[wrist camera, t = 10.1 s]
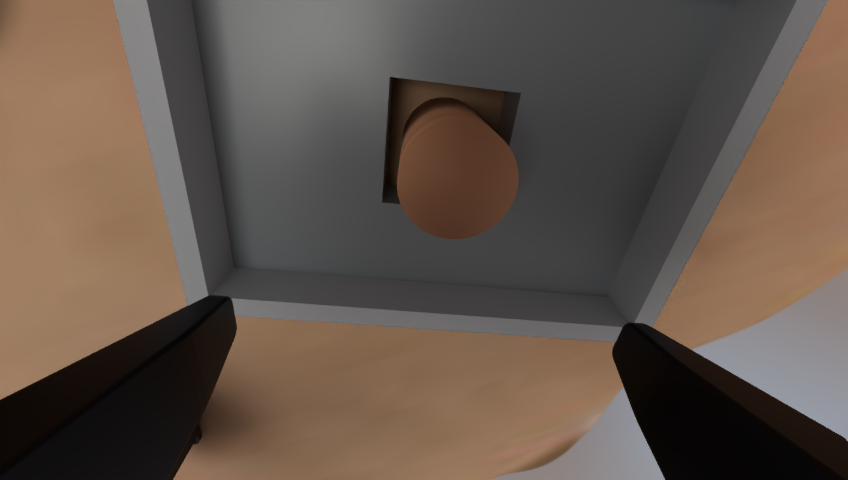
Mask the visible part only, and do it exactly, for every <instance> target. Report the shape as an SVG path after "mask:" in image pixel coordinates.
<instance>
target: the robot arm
mask: <svg viewBox="0 0 848 480" xmlns="http://www.w3.org/2000/svg"><path fill="white" fill-rule="evenodd" d="M236 330H237V325H236V318H235V313H234V307H233V302H232V299H231V298H230V297H229V296H221V295H209V296H206V297H204V298H202V299H200V300H198V301H196V302H194V303H192V304H190V305H188V306H186V307H184V308H182V309H180V310H178V311H176V312H174V313H172V314H170V315H168V316H166V317H164V318H162V319H160V320H159V321H157V322H155V323H153V324H151V325H149V326H147V327H145V328H143V329H141V330H139V331H137V332H135V333H133V334H131V335H129V336H127V337H125V338H123V339H121V340H119V341H117V342H115V343H113V344H111V345H109V346H107V347H105V348H103V349H101V350H99V351H97V352H95V353H93V354H91V355H89V356H87V357H85V358H83V359H81V360H79V361H77V362H75V363H73V364H71V365H69V366H67V367H65V368H63V369H61V370H59V371H57V372H55V373H53V374H51V375H49V376H47V377H45V378H43V379H41V380H39V381H37V382H35V383H33V384H31V385H29V386H27V387H25V388H23V389H21V390H19V391H17V392H15V393H13V394H11V395H9V396H7V397H5V398H3V399H1V400H0V480H173V478H174V477H175V475H176V473H177V471H178V470H179V468H180V466H181V464H182V463H183V461H184V459H185V457H186V456H187V454H188V452H189V450H190V448H191V447H192V445H193V444H198V443H199V441H200V440H201V438H202V434H201V431H200V427H199V424H198V421H199V419H200V418H201V416H202V414H203V412H204V410H205V408H206V406H207V404H208V402H209V399H210V397H211V395H212V393H213V390H214V388H215V385H216V383H217V380H218V378H219V375H220V373H221V370H222V368H223V365H224V363H225V360H226V358H227V355H228V353H229V351H230V348H231V346H232V343H233V341H234V338H235V335H236ZM612 355H613V359H614V362H615V365H616V367H617V370H618V373H619V375H620V378H621V381H622V383H623V386H624V389H625V391H626V394H627V396H628V399H629V402H630V404H631V407H632V410H633V412H634V415H635V417H636V420H637V422H638V424H639V426H640V428H641V430H642V432H643V435H644V437H645V439H646V441H647V443H648V445H649V447H650V449H651V451H652V453H653V455H654V457H655V459H656V461H657V463H658V465H659V468H660V470H661V472H662V474H663V476H664V478H665V480H848V441H847V440H846V439H845V438H844V437H842V436H840V435H839V434H837V433H835V432H833V431H832V430H830V429H828V428H826V427H825V426H823V425H821V424H819V423H818V422H816V421H814V420H812V419H810V418H809V417H807V416H805V415H804V414H802V413H800V412H798V411H797V410H795V409H793V408H791V407H790V406H788V405H786V404H784V403H783V402H781V401H779V400H778V399H776V398H774V397H772V396H771V395H769V394H767V393H765V392H764V391H762V390H760V389H758V388H757V387H755V386H753V385H751V384H750V383H748V382H746V381H744V380H743V379H741V378H739V377H738V376H736V375H734V374H732V373H731V372H729V371H727V370H725V369H724V368H722V367H720V366H718V365H717V364H715V363H713V362H711V361H710V360H708V359H706V358H704V357H703V356H701V355H699V354H697V353H695V352H694V351H692V350H690V349H689V348H687V347H685V346H683V345H682V344H680V343H678V342H676V341H675V340H673V339H671V338H670V337H668V336H666V335H664V334H663V333H661V332H659V331H657V330H656V329H654V328H652V327H650V326H649V325H647V324H644V323H632V322H629V323H626V324H625V325H624V326H623V327H622V330H621V332H620V334H619V336H618V338H617V340H616V342H615V344H614V347H613V351H612Z"/></svg>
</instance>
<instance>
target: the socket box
mask: <svg viewBox="0 0 848 480" xmlns="http://www.w3.org/2000/svg"><path fill="white" fill-rule="evenodd" d="M827 1H828V0H113V3H114V7H115V11H116V15H117V19H118V23H119V27H120V32H121V36H122V40H123V44H124V48H125V52H126V56H127V60H128V64H129V68H130V72H131V76H132V80H133V85H134V89H135V93H136V97H137V101H138V105H139V109H140V113H141V117H142V121H143V125H144V129H145V133H146V138H147V142H148V146H149V150H150V154H151V158H152V162H153V166H154V170H155V174H156V178H157V182H158V186H159V190H160V195H161V199H162V203H163V207H164V211H165V215H166V219H167V223H168V227H169V231H170V235H171V239H172V243H173V248H174V252H175V256H176V260H177V264H178V268H179V272H180V276H181V280H182V284H183V288H184V292H185V296H186V301H187V305H190V304H192V303H194V302H196V301H198V300H200V299H202V298H204V297H206V296H209V295H221V296H229V297H230V298H231V299H232V302H233V307H234V313H235V316H245V317H260V318H274V319H288V320H303V321H317V322H331V323H345V324H360V325H374V326H388V327H403V328H417V329H431V330H446V331H460V332H474V333H488V334H503V335H517V336H531V337H546V338H560V339H574V340H589V341H603V342H616V340H617V338H618V336H619V334H620V332H621V330H622V327H623V326H624V325H625V324H626V323H629V322H632V323H644V324H647V325H649V326H650V327H653V325H654V323H655V321H656V319H657V317H658V315H659V314H660V312H661V310H662V308H663V306H664V304H665V302H666V301H667V299H668V297H669V295H670V293H671V291H672V289H673V288H674V286H675V284H676V282H677V280H678V278H679V276H680V274H681V273H682V271H683V269H684V267H685V265H686V263H687V261H688V260H689V258H690V256H691V254H692V252H693V250H694V248H695V247H696V245H697V243H698V241H699V239H700V237H701V235H702V234H703V232H704V230H705V228H706V226H707V224H708V222H709V221H710V219H711V217H712V215H713V213H714V211H715V209H716V208H717V206H718V204H719V202H720V200H721V198H722V196H723V195H724V193H725V191H726V189H727V187H728V185H729V183H730V181H731V180H732V178H733V176H734V174H735V172H736V170H737V168H738V167H739V165H740V163H741V161H742V159H743V157H744V155H745V154H746V152H747V150H748V148H749V146H750V144H751V142H752V141H753V139H754V137H755V135H756V133H757V131H758V129H759V128H760V126H761V124H762V122H763V120H764V118H765V116H766V115H767V113H768V111H769V109H770V107H771V105H772V103H773V102H774V100H775V98H776V96H777V94H778V92H779V90H780V89H781V87H782V85H783V83H784V81H785V79H786V77H787V75H788V74H789V72H790V70H791V68H792V66H793V64H794V62H795V61H796V59H797V57H798V55H799V53H800V51H801V49H802V48H803V46H804V44H805V42H806V40H807V38H808V36H809V35H810V33H811V31H812V29H813V27H814V25H815V23H816V22H817V20H818V18H819V16H820V14H821V12H822V10H823V9H824V7H825V5H826V3H827ZM393 77H395V78H403V79H411V80H419V81H427V82H435V83H443V84H451V85H459V86H467V87H475V88H483V89H492V90H500V91H506V95H505V100H504V105H503V110H502V114H501V119H500V124H499V129H498V135H499V136H500V137H501V138H502V139H503V140H504V141H505V142H506V143H507V145H508V146H509V147H510V149H511V151H512V152H513V154H514V157H515V159H516V163H517V167H518V174H519V180H518V189H517V193H516V196H515V199H514V201H513V203H512V206H511V207H510V209H509V210H508V212H507V213H506V214H505V216H504V217H503V218H502V219H501V220H500V221H499V222H498V223H497V224H496V225H494V226H493V227H492V228H490V229H489V230H487V231H485V232H483V233H481V234H479V235H476V236H473V237H469V238H465V239H445V238H440V237H436V236H433V235H431V234H428V233H427V232H425V231H423V230H421V229H420V228H419V227H417V226H416V225H415V224H414V223H413V222H412V221H411V220H410V219H409V217H408V216H407V215H406V213H405V212H404V210H403V208H402V206H401V203H400V201H399V197H398V191H397V186H389V185H386V173H387V158H388V143H389V128H390V113H391V98H392V83H393Z"/></svg>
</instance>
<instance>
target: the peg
mask: <svg viewBox="0 0 848 480" xmlns="http://www.w3.org/2000/svg"><path fill="white" fill-rule="evenodd" d="M518 180H519V174H518V167H517V163H516V159H515V157H514V154H513V152H512V151H511V149H510V147H509V146H508V145H507V143H506V142H505V141H504V140H503V139H502V138H501V137H500V136H499V135H498V134H497V133H496V132H495V131H494V130H493V129H491V128H490V127H489V126H488V125H487V124H486V123H485V122H484V121H483V120H482V119H481V118H480V117H479V116H478V115H477V114H476V113H475V112H473V111H472V110H471V109H470V108H469V107H468V106H467V105H466V104H464V103H462V102H460V101H459V100H456V99H452V98H443V97H442V98H435V99H431V100H429V101H426V102H424V103H423V104H421V105H420V106H418V107H417V108H416V109H415V110H414V111H413V112H412V114H411V115H410V116H409V118H408V120H407V122H406V124H405V128H404V132H403V139H402V146H401V154H400V161H399V169H398V176H397V191H398V197H399V201H400V203H401V206H402V208H403V210H404V212H405V213H406V215H407V216H408V217H409V219H410V220H411V221H412V222H413V223H414V224H415V225H416V226H417V227H419V228H420V229H421V230H423V231H425V232H427V233H428V234H431V235H433V236H436V237H440V238H445V239H465V238H469V237H473V236H476V235H479V234H481V233H483V232H485V231H487V230H489V229H490V228H492V227H493V226H494V225H496V224H497V223H498V222H499V221H500V220H501V219H502V218H503V217H504V216H505V214H506V213H507V212H508V210H509V209H510V207H511V206H512V203H513V201H514V199H515V196H516V193H517V189H518Z"/></svg>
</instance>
